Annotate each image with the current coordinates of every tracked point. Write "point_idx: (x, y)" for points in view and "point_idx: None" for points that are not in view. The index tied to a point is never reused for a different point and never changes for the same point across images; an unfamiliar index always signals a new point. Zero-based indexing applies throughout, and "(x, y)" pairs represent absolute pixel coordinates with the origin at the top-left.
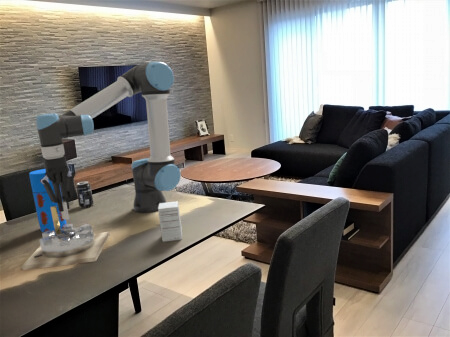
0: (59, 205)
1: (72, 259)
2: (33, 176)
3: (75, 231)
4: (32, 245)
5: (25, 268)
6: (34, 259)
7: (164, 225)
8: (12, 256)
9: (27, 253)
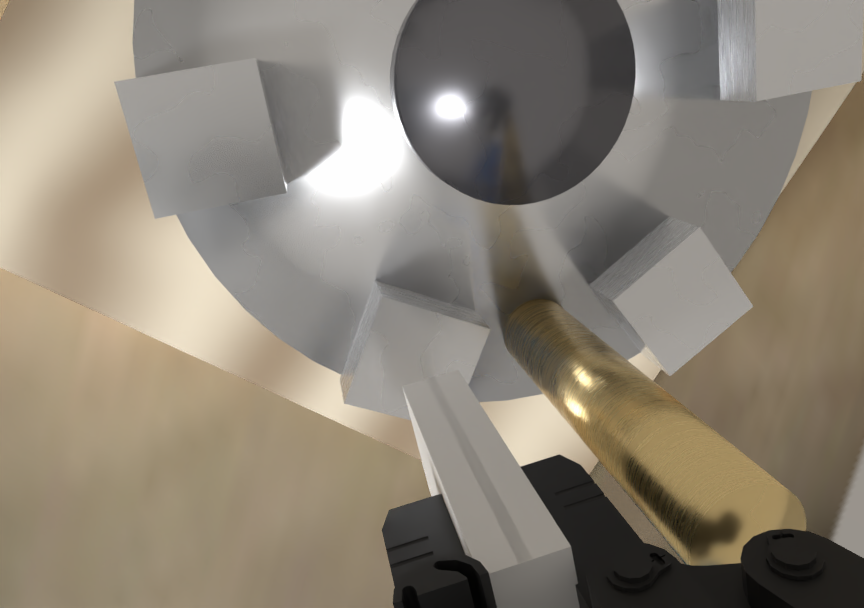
0: (631, 532)
1: None
2: None
3: (359, 186)
4: (648, 524)
5: None
6: None
7: None
8: (834, 386)
9: (738, 362)
